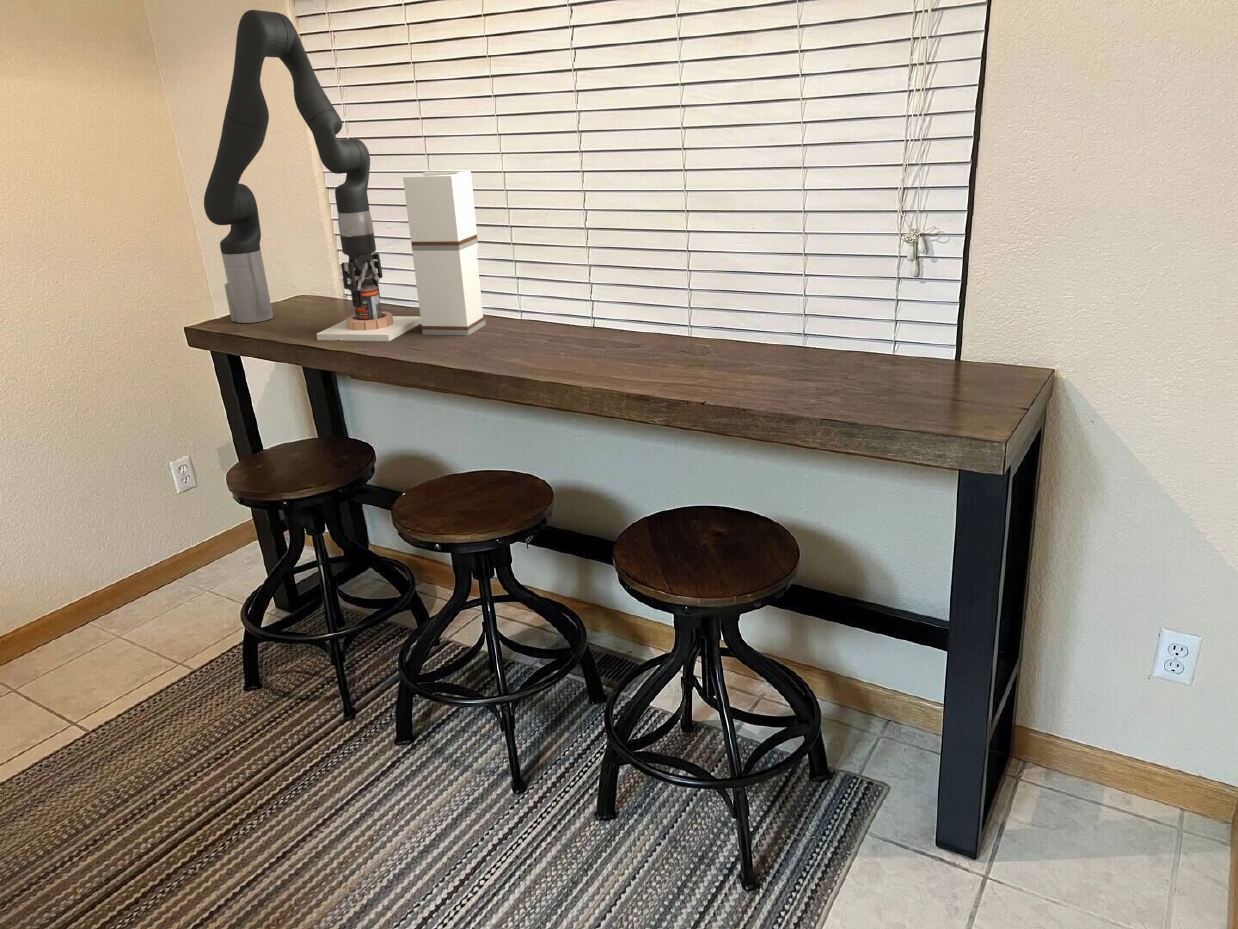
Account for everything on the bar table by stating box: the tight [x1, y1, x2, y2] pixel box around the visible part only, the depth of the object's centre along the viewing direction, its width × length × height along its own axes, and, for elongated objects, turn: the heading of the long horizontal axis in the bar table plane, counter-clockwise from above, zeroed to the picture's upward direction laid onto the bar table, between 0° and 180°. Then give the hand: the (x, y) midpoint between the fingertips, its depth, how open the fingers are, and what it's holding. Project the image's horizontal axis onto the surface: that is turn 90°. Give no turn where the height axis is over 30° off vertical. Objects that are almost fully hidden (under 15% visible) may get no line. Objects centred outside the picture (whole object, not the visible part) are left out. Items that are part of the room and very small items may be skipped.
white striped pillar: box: [402, 170, 486, 336], centre depth 209 cm, size 11×11×35 cm
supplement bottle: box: [354, 276, 382, 320], centre depth 215 cm, size 6×6×11 cm
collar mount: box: [316, 311, 422, 342], centre depth 217 cm, size 18×18×4 cm
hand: (366, 302), depth 215 cm, fingers open, 8 cm apart
